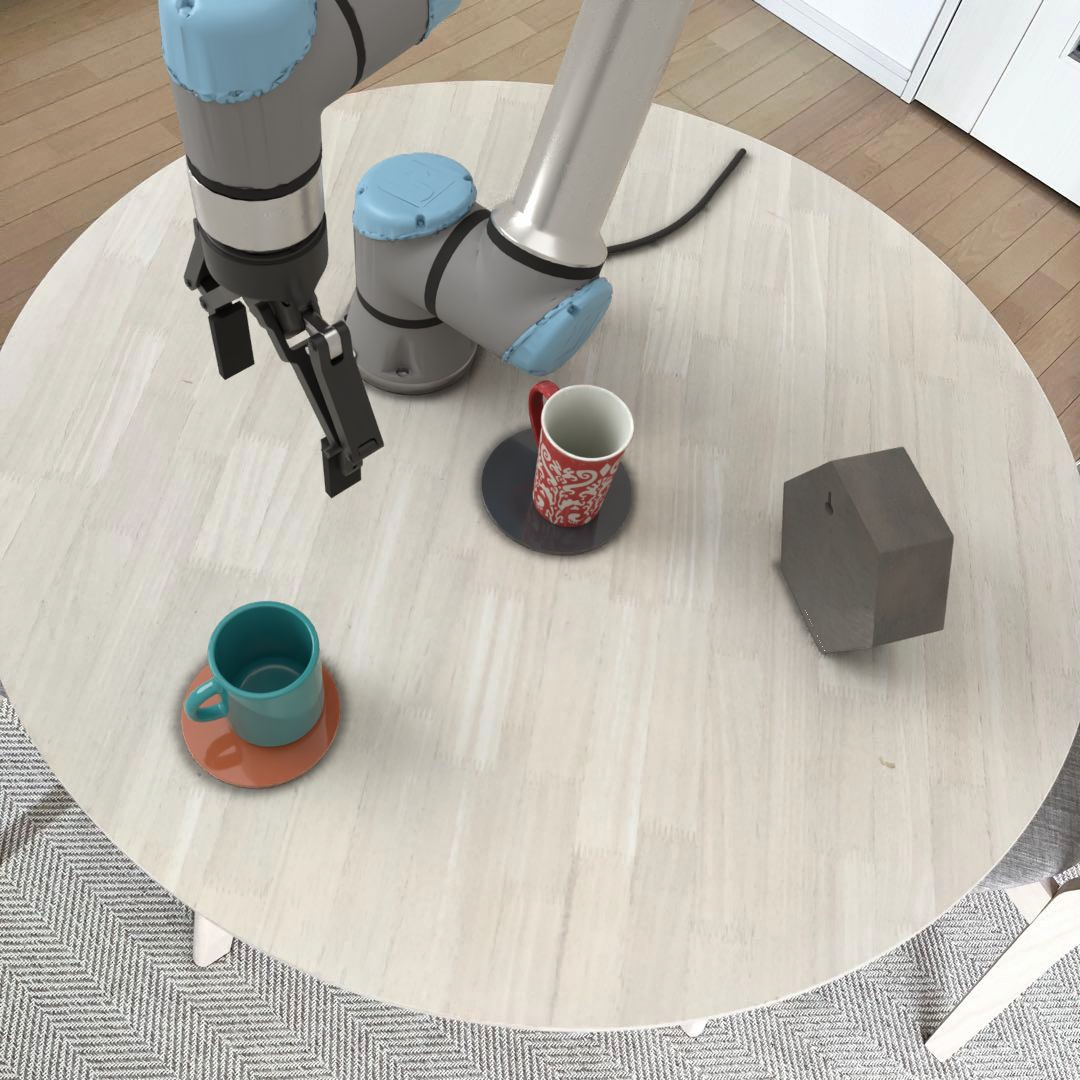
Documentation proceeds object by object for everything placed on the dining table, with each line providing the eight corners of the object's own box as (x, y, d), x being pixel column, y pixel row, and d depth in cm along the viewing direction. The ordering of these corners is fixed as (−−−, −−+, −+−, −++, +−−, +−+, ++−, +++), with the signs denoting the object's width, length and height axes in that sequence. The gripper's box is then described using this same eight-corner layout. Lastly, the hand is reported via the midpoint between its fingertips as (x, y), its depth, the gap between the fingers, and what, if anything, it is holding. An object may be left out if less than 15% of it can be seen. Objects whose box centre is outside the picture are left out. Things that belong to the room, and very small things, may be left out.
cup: (175, 697, 102) (154, 642, 92) (299, 642, 106) (291, 583, 97) (215, 782, 98) (197, 734, 89) (341, 721, 103) (337, 669, 93)
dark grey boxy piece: (938, 678, 107) (961, 479, 98) (867, 697, 106) (884, 495, 96) (842, 598, 122) (854, 417, 113) (778, 613, 120) (785, 430, 111)
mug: (627, 514, 118) (653, 437, 107) (554, 549, 115) (573, 473, 104) (562, 427, 123) (581, 345, 112) (491, 458, 120) (502, 377, 108)
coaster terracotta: (281, 617, 108) (281, 614, 108) (371, 724, 103) (371, 722, 103) (151, 702, 102) (150, 699, 102) (240, 820, 97) (239, 818, 97)
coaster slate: (561, 405, 125) (562, 403, 125) (661, 502, 120) (662, 499, 120) (449, 477, 119) (449, 474, 118) (550, 582, 113) (551, 580, 113)
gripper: (443, 313, 65) (431, 511, 83) (198, 75, 73) (236, 302, 91) (336, 374, 62) (348, 566, 80) (92, 118, 70) (153, 345, 88)
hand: (288, 426), depth 85 cm, fingers open, 13 cm apart
